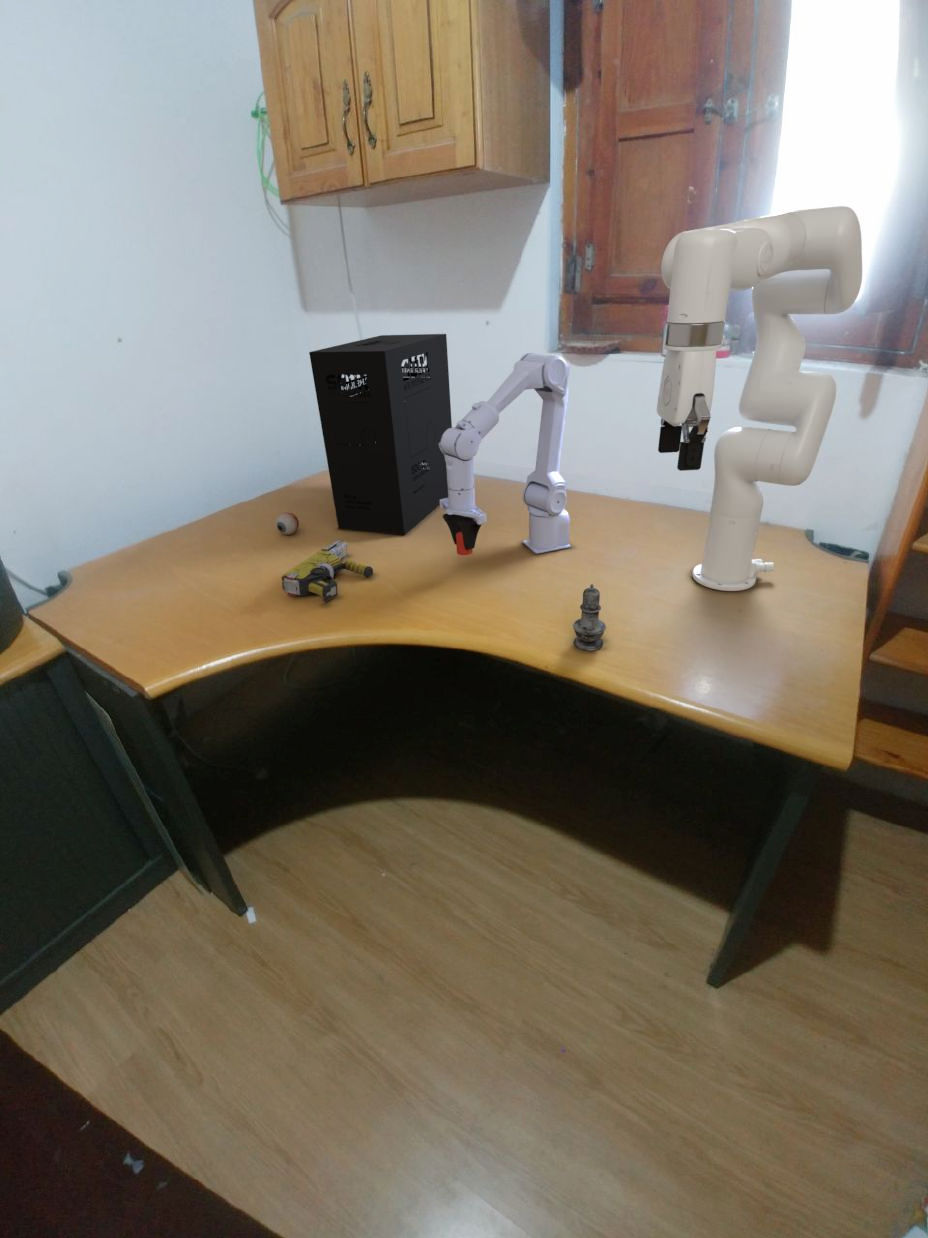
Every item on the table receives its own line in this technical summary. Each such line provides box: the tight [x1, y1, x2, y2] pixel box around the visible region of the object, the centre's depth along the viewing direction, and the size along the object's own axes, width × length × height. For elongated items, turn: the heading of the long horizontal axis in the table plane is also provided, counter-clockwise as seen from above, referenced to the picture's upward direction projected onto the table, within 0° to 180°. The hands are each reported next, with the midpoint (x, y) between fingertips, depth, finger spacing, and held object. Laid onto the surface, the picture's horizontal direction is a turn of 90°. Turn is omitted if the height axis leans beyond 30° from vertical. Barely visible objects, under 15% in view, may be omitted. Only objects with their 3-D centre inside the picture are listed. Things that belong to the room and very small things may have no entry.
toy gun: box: [281, 539, 374, 603], centre depth 138 cm, size 5×24×15 cm
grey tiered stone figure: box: [572, 583, 607, 652], centre depth 107 cm, size 6×6×12 cm
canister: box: [455, 532, 473, 556], centre depth 134 cm, size 4×4×4 cm
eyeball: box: [275, 511, 300, 536], centre depth 163 cm, size 6×6×6 cm
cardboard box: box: [308, 333, 453, 536], centre depth 167 cm, size 38×20×45 cm, turn 160°
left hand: (464, 545), depth 135 cm, fingers closed on canister, 3 cm apart
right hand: (678, 460), depth 91 cm, fingers open, 9 cm apart
